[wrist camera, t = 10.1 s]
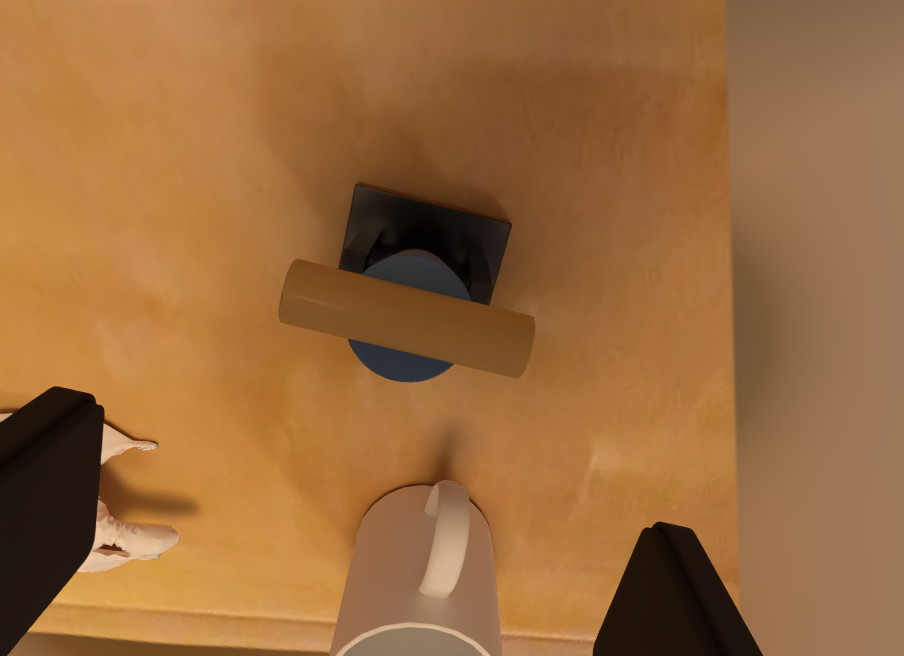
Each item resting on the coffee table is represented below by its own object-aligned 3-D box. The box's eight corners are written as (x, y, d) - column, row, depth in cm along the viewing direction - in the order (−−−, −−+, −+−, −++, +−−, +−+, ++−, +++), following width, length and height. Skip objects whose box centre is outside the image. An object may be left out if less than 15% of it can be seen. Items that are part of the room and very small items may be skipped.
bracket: (359, 181, 30) (335, 197, 24) (510, 220, 31) (524, 244, 25) (334, 304, 32) (306, 347, 26) (476, 338, 33) (482, 388, 27)
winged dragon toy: (-106, 544, 37) (-173, 595, 33) (-135, 388, 34) (-213, 423, 30) (200, 577, 38) (171, 630, 34) (201, 426, 35) (168, 466, 31)
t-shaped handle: (295, 225, 14) (266, 359, 15) (548, 287, 15) (513, 416, 15) (353, 232, 26) (336, 307, 26) (492, 267, 27) (474, 340, 27)
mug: (474, 605, 38) (482, 775, 28) (347, 582, 38) (309, 748, 28) (524, 431, 35) (553, 557, 25) (384, 403, 34) (355, 520, 24)
